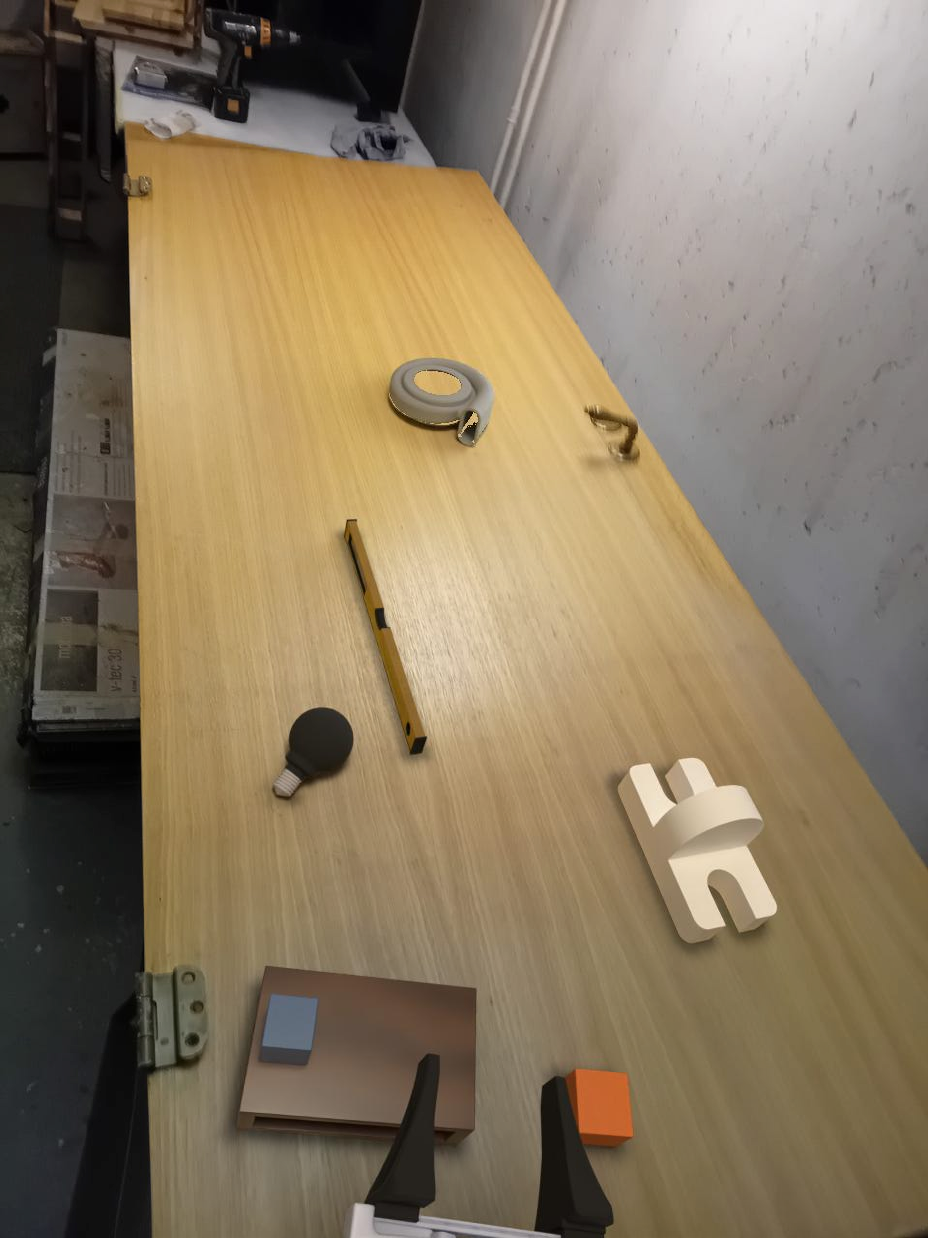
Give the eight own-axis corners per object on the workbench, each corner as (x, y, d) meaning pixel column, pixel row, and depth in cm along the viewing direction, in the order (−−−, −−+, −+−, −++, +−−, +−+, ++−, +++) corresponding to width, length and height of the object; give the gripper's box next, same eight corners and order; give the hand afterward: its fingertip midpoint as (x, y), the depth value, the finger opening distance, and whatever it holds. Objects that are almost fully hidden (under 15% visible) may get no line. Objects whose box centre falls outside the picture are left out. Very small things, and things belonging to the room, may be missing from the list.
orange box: (615, 1147, 67) (634, 1137, 64) (562, 1143, 66) (579, 1133, 63) (610, 1085, 70) (627, 1073, 67) (559, 1080, 69) (575, 1068, 66)
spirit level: (421, 753, 87) (427, 737, 85) (410, 754, 87) (415, 739, 84) (353, 535, 107) (356, 518, 105) (343, 536, 106) (346, 519, 104)
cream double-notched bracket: (687, 773, 94) (730, 720, 86) (763, 927, 83) (821, 882, 75) (614, 783, 90) (652, 729, 83) (683, 945, 79) (735, 900, 72)
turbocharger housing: (412, 375, 138) (372, 416, 127) (416, 339, 133) (375, 378, 123) (504, 409, 135) (471, 453, 125) (512, 373, 130) (479, 416, 120)
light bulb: (249, 771, 76) (317, 688, 80) (252, 778, 82) (315, 701, 86) (304, 813, 76) (369, 728, 80) (302, 817, 82) (363, 738, 86)
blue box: (306, 1066, 60) (311, 1051, 57) (258, 1061, 59) (261, 1046, 56) (313, 1015, 62) (319, 998, 59) (267, 1010, 62) (270, 993, 59)
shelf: (456, 1146, 64) (474, 1130, 60) (236, 1129, 61) (238, 1112, 57) (460, 1010, 71) (476, 987, 66) (261, 990, 68) (265, 965, 64)
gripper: (667, 1408, 36) (638, 1071, 46) (347, 1374, 33) (389, 1025, 43) (599, 1411, 41) (585, 1105, 50) (313, 1382, 38) (358, 1065, 48)
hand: (492, 1070), depth 47 cm, fingers open, 7 cm apart
